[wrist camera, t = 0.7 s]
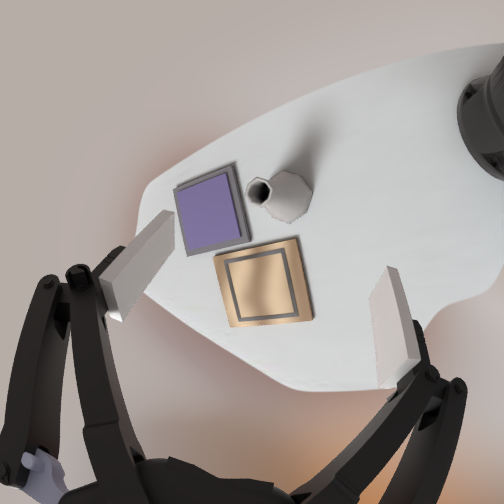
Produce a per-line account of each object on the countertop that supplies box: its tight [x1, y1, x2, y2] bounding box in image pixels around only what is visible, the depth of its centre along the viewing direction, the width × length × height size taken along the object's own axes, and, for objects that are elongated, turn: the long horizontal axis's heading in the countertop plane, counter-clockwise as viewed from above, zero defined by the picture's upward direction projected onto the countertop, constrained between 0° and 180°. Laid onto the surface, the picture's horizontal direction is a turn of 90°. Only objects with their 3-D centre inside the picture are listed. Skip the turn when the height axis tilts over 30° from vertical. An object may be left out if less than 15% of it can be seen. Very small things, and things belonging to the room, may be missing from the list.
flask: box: [245, 171, 312, 224], centre depth 33 cm, size 7×7×10 cm
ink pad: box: [173, 165, 251, 257], centre depth 43 cm, size 12×12×1 cm
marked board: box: [213, 238, 313, 327], centre depth 41 cm, size 14×12×1 cm
